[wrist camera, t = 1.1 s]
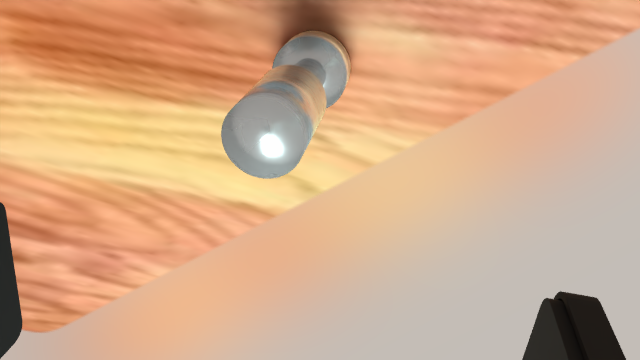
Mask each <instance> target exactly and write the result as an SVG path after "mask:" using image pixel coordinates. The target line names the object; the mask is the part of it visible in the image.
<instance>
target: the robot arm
mask: <svg viewBox="0 0 640 360" xmlns="http://www.w3.org/2000/svg"><path fill="white" fill-rule="evenodd" d="M21 329H22V316H21V309H20V302H19V296H18V289H17V282H16V276H15V269H14V263H13V256H12V249H11V243H10V236H9V229H8V223H7V216H6V210H5V207H4V205H3V204H2V203H0V358H1V357H2V356H3V355H4V354H5V353H6V352H7V351H8V350H9V349H10V348H11V346H12V345H13V344H14V343H15V342H16V340H17V339H18V337H19V335H20V332H21ZM522 360H626V358H625V356H624V354H623V352H622V350H621V348H620V345H619V343H618V341H617V338H616V336H615V334H614V332H613V330H612V327H611V325H610V323H609V321H608V319H607V317H606V314H605V312H604V310H603V307H602V305H601V303H600V302H599V300H598V299H597V298H594V297H589V296H584V295H577V294H572V293H566V292H558V293H557V295H556V296H555V298H554V299H549V298H546V299H544V300H543V302H542V304H541V307H540V310H539V312H538V315H537V318H536V321H535V324H534V327H533V330H532V333H531V336H530V339H529V342H528V345H527V347H526V351H525V353H524V356H523V359H522Z"/></svg>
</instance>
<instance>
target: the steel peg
mask: <svg viewBox="0 0 640 360" xmlns="http://www.w3.org/2000/svg"><path fill="white" fill-rule="evenodd" d="M350 72H351V64H350V59H349V56H348V53H347V51H346V49H345V48H344V46H343V45H342V44H341V42H339V41H338V40H337V39H336V38H335V37H333V36H332V35H330V34H328V33H325V32H321V31H305V32H302V33H299V34H297V35H296V36H294V37H293V38H291V39H290V40H289V41H288V42H287V43H286V44H285V45H284V46H283V47H282V48H281V49H280V50H279V52H278V53H277V55H276V57H275V59H274V62H273V67H272V69H271V70H270V71H268V72H267V73H266V74H265V75H264V76H263V77H262V78H261V79H260V80H259V81H258V82H257V83H256V84H255V85H254V86H253V87H252V89H251V90H250V91H249V92H248V93H247V94H246V95H245V96H244V97H243V98H242V99H241V100H240V101H239V102H238V103H237V104H236V105H235V106H234V107H233V108H232V109H231V110H230V112H229V113H228V114H227V116H226V117H225V119H224V122H223V125H222V131H221V137H222V143H223V147H224V149H225V152H226V153H227V155H228V157H229V158H230V160H231V161H232V162H233V163H234V164H235V165H236V166H237V167H238V168H239V169H241V170H242V171H244V172H245V173H247V174H249V175H252V176H255V177H258V178H276V177H280V176H283V175H285V174H287V173H289V172H290V171H291V170H293V169H294V168H295V167H296V165H297V164H298V163H299V161H300V159H301V157H302V155H303V154H304V152H305V150H306V148H307V146H308V144H309V142H310V140H311V138H312V136H313V134H314V133H315V131H316V129H317V127H318V125H319V123H320V121H321V119H322V117H323V115H324V113H325V110H326V108H328V107H329V106H331V105H333V104H334V103H335V102H336V101H337V100H338V99H339V98H340V96H341V95H342V93H343V91H344V89H345V87H346V85H347V83H348V80H349V77H350Z"/></svg>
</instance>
